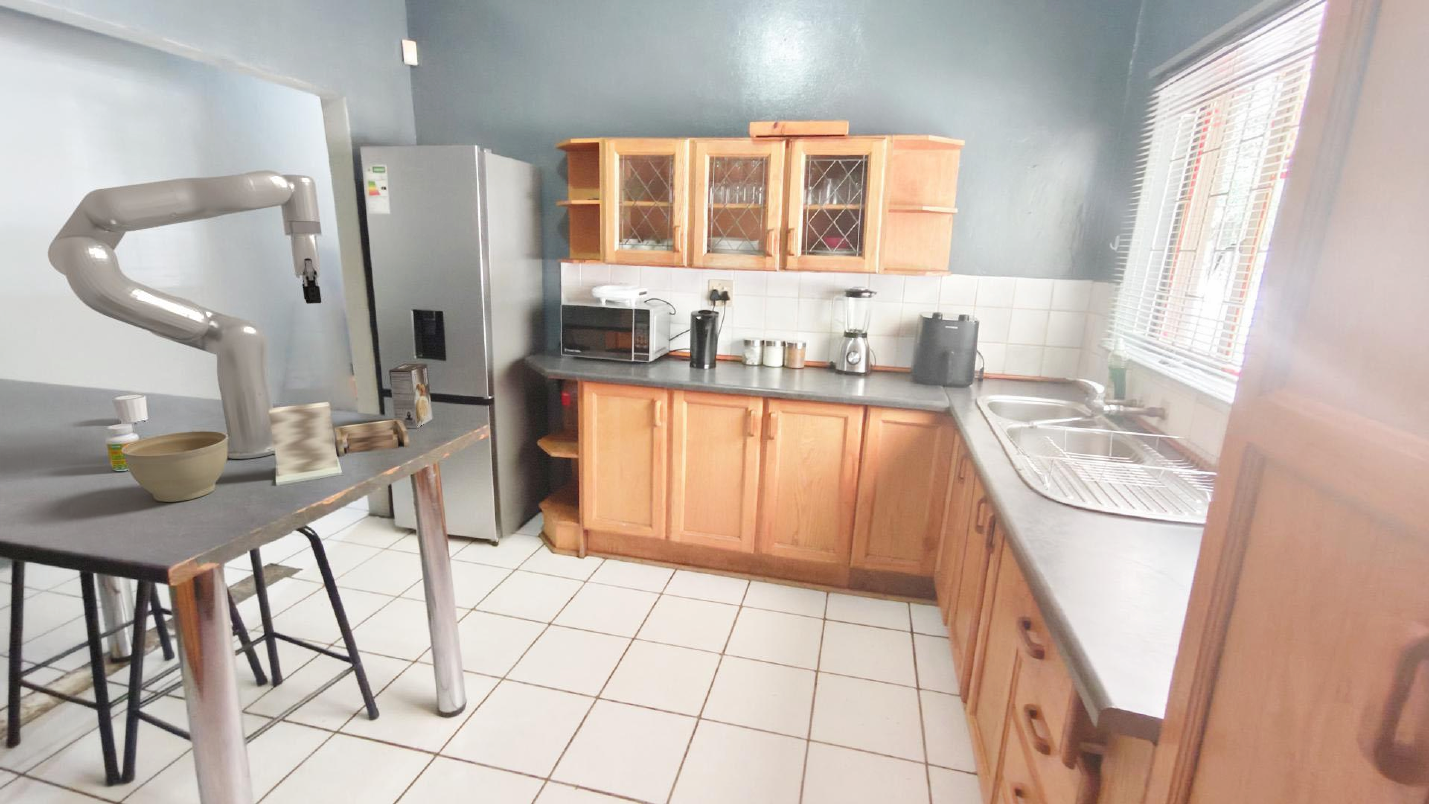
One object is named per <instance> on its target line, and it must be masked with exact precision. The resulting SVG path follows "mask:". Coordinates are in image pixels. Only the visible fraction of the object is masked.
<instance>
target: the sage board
mask: <svg viewBox="0 0 1429 804" xmlns="http://www.w3.org/2000/svg"><path fill="white" fill-rule="evenodd" d="M338 457H339V456H337V462H338V467H335V468H329V469H322V470H316V471H309V472H303V473H297V474H290V475H284V476H279V473H278V467H277V465H275V484H276V485H275V486H282V485H287V484H289V485H290V484H295V483H301V482H306V481H312V480H313V481H315V480H319V479H324V478H332V477H337V476H342V475H343V470H342V468H341V463H340V459H339V458H338Z"/></svg>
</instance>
